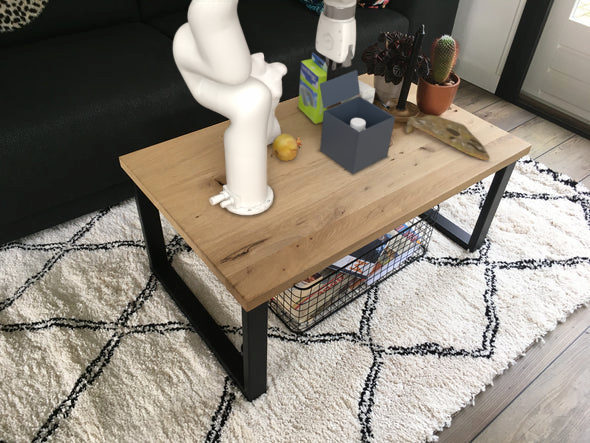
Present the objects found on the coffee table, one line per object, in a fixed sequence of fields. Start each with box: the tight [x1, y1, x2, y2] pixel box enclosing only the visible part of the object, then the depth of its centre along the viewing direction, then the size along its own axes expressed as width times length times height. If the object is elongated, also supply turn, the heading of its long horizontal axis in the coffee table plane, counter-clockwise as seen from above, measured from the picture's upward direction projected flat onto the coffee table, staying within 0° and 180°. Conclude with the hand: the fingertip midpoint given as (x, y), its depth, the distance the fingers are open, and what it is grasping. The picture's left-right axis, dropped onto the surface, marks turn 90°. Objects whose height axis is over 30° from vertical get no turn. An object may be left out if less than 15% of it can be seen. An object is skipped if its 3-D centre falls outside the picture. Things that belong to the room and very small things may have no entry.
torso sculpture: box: [250, 52, 288, 146], centre depth 131 cm, size 18×10×25 cm, turn 124°
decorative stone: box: [404, 114, 491, 161], centre depth 144 cm, size 25×15×5 cm, turn 51°
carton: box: [319, 96, 396, 175], centre depth 133 cm, size 13×13×12 cm
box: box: [298, 52, 328, 125], centre depth 145 cm, size 10×4×17 cm, turn 29°
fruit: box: [270, 133, 303, 162], centre depth 132 cm, size 7×7×10 cm
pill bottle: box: [350, 118, 366, 132], centre depth 133 cm, size 5×5×10 cm
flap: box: [320, 69, 360, 109], centre depth 130 cm, size 13×6×1 cm
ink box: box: [340, 79, 376, 104], centre depth 145 cm, size 8×5×12 cm, turn 39°
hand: (332, 81), depth 131 cm, fingers closed
